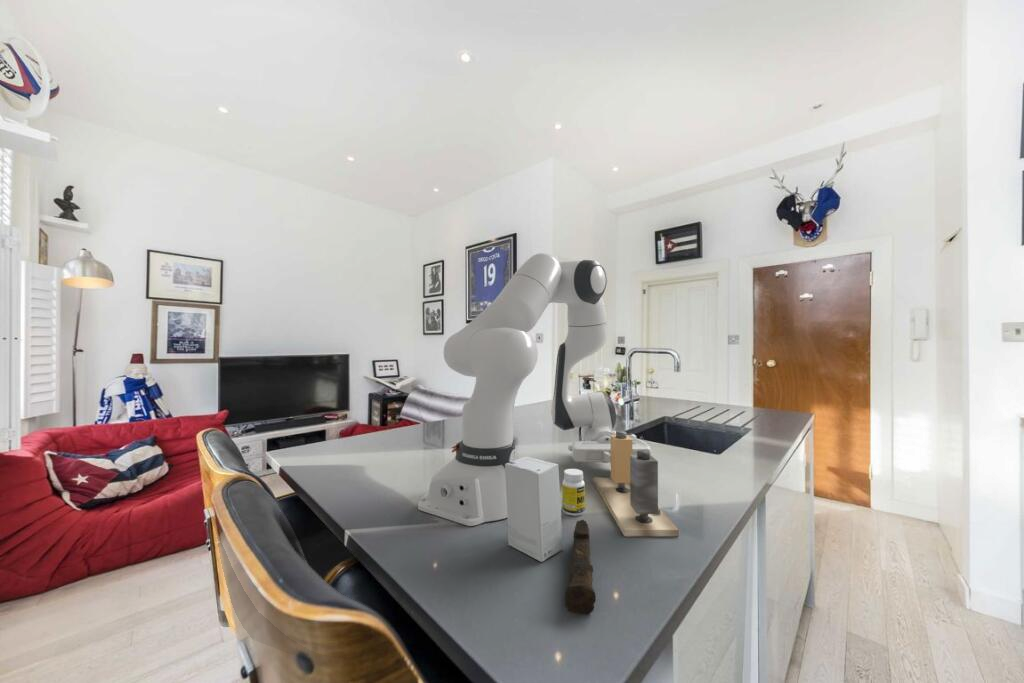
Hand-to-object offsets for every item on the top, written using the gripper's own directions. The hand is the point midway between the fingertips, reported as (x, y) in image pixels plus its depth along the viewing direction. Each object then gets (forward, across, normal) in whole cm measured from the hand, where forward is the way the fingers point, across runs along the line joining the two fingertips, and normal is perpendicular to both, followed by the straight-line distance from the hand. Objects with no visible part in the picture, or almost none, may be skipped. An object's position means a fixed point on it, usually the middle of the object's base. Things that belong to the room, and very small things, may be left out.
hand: (618, 461), depth 89 cm
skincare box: (+24, -22, +7) cm, 34 cm away
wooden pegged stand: (+8, 0, +7) cm, 11 cm away
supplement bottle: (+11, -13, +7) cm, 18 cm away
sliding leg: (+2, 0, +5) cm, 6 cm away
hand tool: (+31, -15, +7) cm, 35 cm away
